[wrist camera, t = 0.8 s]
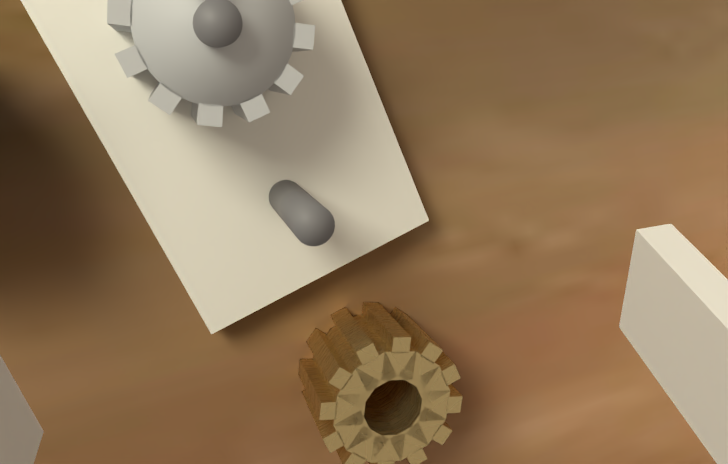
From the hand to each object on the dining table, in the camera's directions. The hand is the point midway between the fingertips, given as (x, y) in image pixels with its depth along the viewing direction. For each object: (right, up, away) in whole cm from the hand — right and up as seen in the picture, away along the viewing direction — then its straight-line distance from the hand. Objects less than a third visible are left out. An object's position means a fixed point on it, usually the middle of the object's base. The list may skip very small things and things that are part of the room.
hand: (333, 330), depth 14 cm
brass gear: (+1, -7, +31) cm, 31 cm away
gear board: (-6, +9, +24) cm, 27 cm away
